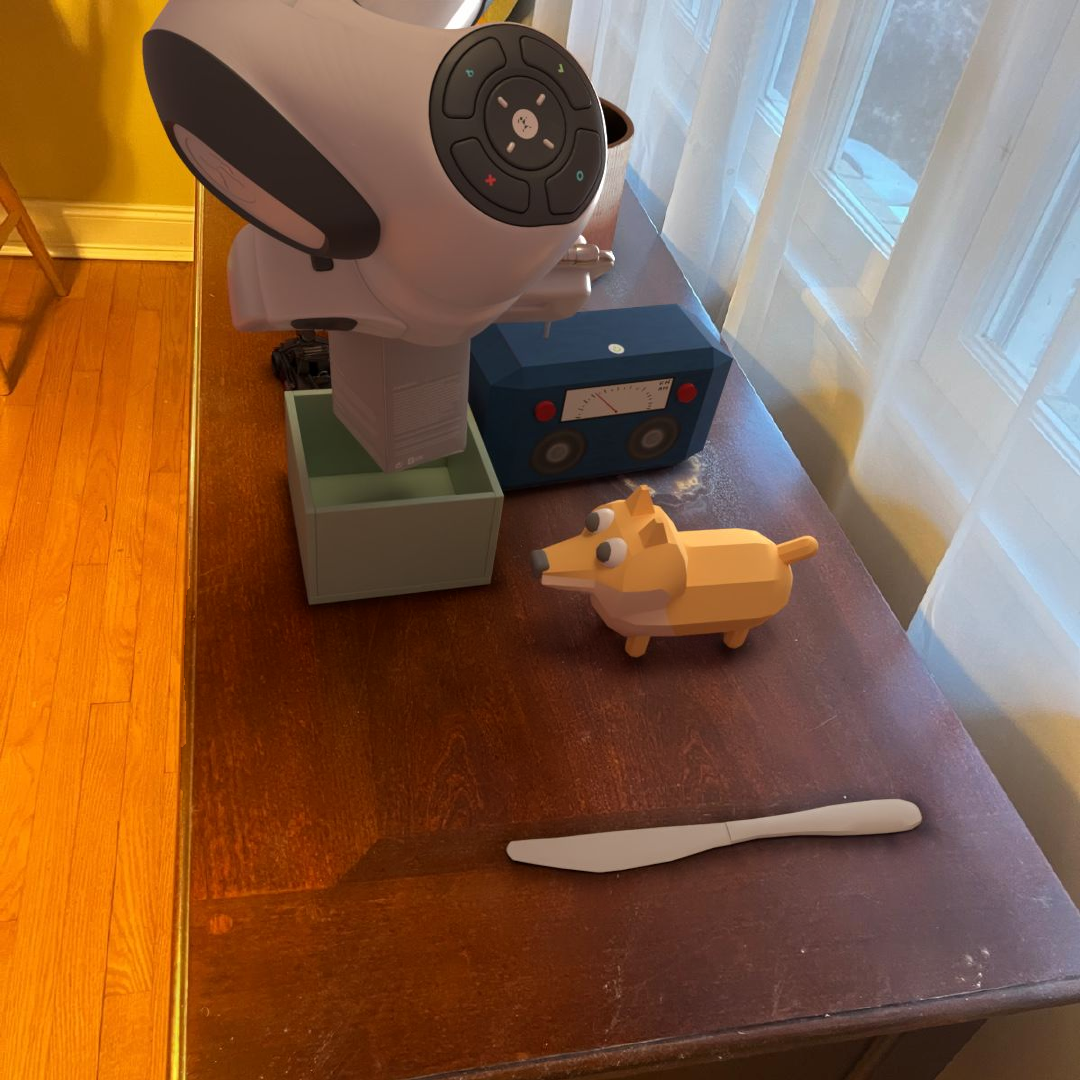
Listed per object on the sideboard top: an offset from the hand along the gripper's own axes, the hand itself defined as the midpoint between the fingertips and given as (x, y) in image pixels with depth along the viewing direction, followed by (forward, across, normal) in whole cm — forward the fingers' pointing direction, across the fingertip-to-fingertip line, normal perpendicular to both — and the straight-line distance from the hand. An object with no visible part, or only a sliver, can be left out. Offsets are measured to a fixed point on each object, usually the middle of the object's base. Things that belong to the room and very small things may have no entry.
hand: (393, 316), depth 63 cm
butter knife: (-8, -16, +34) cm, 39 cm away
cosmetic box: (+6, 0, +7) cm, 9 cm away
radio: (+18, -18, +9) cm, 27 cm away
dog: (+4, -17, +23) cm, 29 cm away
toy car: (+26, +3, +1) cm, 26 cm away
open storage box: (+13, 0, +14) cm, 19 cm away
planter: (+42, -23, -15) cm, 50 cm away
